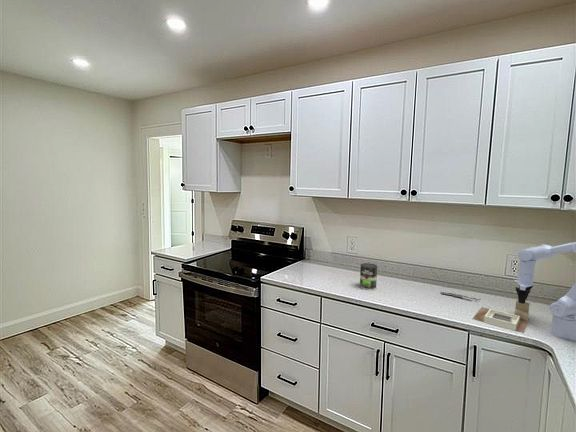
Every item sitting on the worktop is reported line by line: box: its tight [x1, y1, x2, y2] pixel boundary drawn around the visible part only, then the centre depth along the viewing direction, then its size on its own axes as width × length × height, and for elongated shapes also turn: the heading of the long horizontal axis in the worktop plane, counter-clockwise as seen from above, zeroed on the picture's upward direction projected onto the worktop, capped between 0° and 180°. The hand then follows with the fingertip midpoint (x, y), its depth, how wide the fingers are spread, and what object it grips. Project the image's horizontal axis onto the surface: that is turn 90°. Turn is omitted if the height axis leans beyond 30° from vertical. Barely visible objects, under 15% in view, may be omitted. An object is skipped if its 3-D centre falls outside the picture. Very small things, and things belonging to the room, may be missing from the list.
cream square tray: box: [483, 308, 520, 332], centre depth 145 cm, size 12×12×3 cm
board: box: [471, 306, 530, 334], centre depth 149 cm, size 20×20×1 cm
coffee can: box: [359, 262, 378, 291], centre depth 193 cm, size 10×10×14 cm
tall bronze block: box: [514, 299, 531, 320], centre depth 149 cm, size 2×5×8 cm, turn 47°
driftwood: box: [440, 291, 481, 303], centre depth 179 cm, size 21×7×2 cm, turn 48°
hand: (522, 300), depth 149 cm, fingers open, 7 cm apart
